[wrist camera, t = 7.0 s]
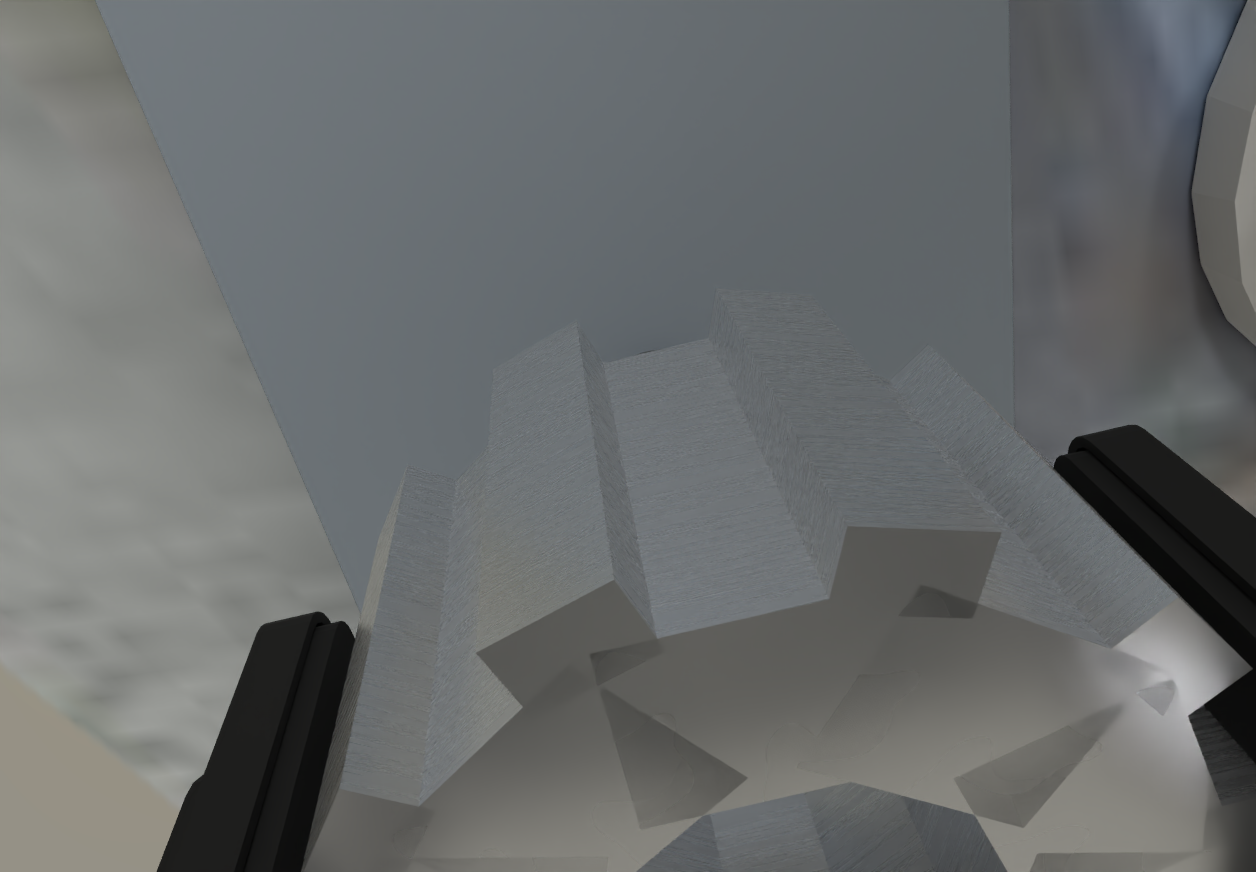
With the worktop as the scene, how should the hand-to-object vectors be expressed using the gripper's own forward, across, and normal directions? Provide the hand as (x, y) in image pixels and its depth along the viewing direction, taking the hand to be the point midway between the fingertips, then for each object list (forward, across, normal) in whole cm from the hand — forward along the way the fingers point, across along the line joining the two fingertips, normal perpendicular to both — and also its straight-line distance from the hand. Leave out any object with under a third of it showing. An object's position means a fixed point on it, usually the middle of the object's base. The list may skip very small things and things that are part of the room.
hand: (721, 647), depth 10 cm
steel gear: (+1, 0, 0) cm, 1 cm away
